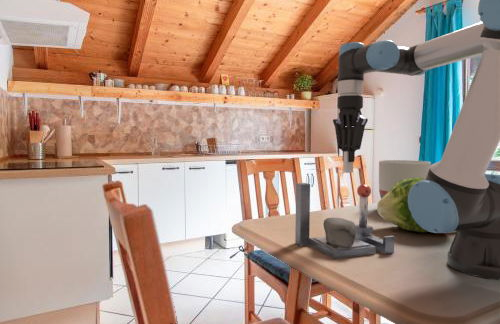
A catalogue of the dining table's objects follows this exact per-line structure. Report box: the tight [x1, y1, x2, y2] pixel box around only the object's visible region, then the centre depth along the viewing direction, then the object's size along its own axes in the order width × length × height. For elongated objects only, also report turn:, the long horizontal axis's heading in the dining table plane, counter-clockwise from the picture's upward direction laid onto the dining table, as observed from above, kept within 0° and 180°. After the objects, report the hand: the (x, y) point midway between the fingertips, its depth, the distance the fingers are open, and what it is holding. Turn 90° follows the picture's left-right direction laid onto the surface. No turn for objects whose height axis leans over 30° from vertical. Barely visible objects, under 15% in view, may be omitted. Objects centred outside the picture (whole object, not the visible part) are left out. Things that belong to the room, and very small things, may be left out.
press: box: [294, 182, 395, 260], centre depth 102 cm, size 17×22×18 cm
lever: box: [355, 183, 374, 235], centre depth 108 cm, size 4×4×15 cm
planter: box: [378, 159, 432, 200], centre depth 155 cm, size 20×20×21 cm
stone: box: [323, 217, 356, 248], centre depth 100 cm, size 9×9×10 cm
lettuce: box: [376, 178, 429, 233], centre depth 121 cm, size 19×23×18 cm
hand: (348, 172), depth 111 cm, fingers closed
